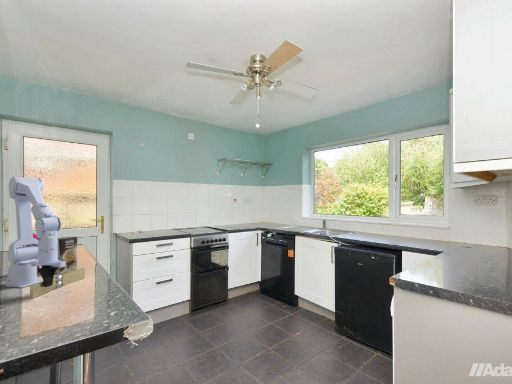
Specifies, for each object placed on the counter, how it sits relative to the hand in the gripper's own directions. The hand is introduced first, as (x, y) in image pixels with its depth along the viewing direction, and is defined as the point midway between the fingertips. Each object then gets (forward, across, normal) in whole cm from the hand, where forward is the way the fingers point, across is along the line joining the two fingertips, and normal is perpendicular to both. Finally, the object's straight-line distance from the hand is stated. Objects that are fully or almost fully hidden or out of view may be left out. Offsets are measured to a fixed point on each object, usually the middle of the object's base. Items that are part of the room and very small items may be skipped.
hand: (48, 286), depth 97 cm
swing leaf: (+2, -2, +1) cm, 3 cm away
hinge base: (+2, -3, +11) cm, 12 cm away
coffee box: (+2, -23, +25) cm, 34 cm away
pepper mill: (+2, -35, +19) cm, 40 cm away
